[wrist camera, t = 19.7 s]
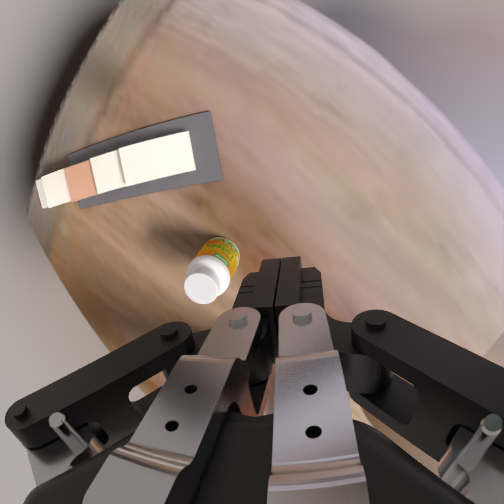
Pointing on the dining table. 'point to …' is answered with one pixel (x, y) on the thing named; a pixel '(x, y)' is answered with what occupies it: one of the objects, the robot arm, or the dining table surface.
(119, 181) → the domino
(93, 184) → the domino
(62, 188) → the domino
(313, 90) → the dining table surface
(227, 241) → the supplement bottle
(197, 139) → the mat
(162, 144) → the domino
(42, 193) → the domino
